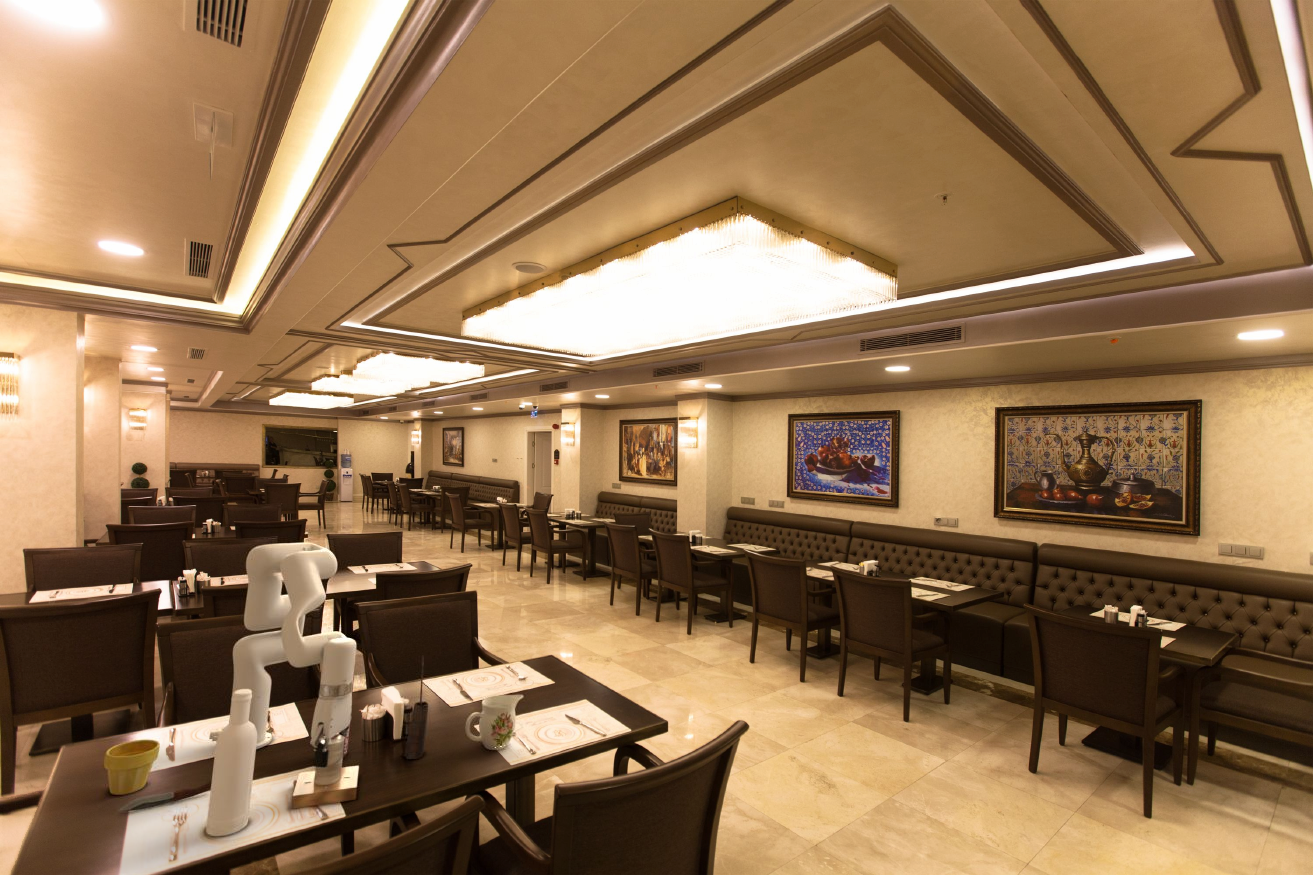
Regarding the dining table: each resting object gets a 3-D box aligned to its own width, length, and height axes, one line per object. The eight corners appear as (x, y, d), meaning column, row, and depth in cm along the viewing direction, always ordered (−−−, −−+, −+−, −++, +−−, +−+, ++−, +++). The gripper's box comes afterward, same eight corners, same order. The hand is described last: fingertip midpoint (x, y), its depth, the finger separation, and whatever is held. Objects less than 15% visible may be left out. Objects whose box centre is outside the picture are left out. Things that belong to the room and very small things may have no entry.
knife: (116, 817, 136) (118, 803, 136) (116, 814, 137) (118, 800, 138) (215, 793, 148) (217, 781, 148) (215, 790, 149) (216, 778, 150)
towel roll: (331, 786, 149) (335, 743, 150) (308, 784, 149) (313, 741, 150) (345, 774, 155) (349, 734, 156) (323, 772, 155) (327, 732, 156)
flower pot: (162, 775, 155) (167, 736, 156) (144, 795, 145) (149, 754, 146) (112, 780, 151) (117, 740, 152) (90, 801, 142) (96, 758, 143)
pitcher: (457, 745, 182) (461, 699, 184) (513, 733, 193) (516, 689, 194) (470, 759, 174) (474, 711, 175) (527, 746, 184) (530, 700, 185)
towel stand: (291, 808, 144) (292, 795, 144) (298, 784, 155) (299, 771, 155) (355, 799, 149) (356, 786, 150) (357, 776, 160) (359, 764, 161)
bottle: (220, 816, 139) (235, 684, 141) (255, 816, 140) (270, 685, 142) (197, 836, 131) (213, 696, 133) (234, 837, 132) (250, 697, 134)
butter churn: (436, 760, 172) (445, 661, 174) (401, 766, 167) (410, 664, 170) (430, 747, 180) (438, 652, 182) (396, 752, 175) (405, 655, 177)
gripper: (342, 676, 163) (336, 744, 162) (300, 698, 146) (292, 774, 144) (368, 678, 162) (362, 747, 161) (328, 701, 145) (321, 778, 144)
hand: (329, 759), depth 153 cm, fingers closed on towel roll, 6 cm apart
